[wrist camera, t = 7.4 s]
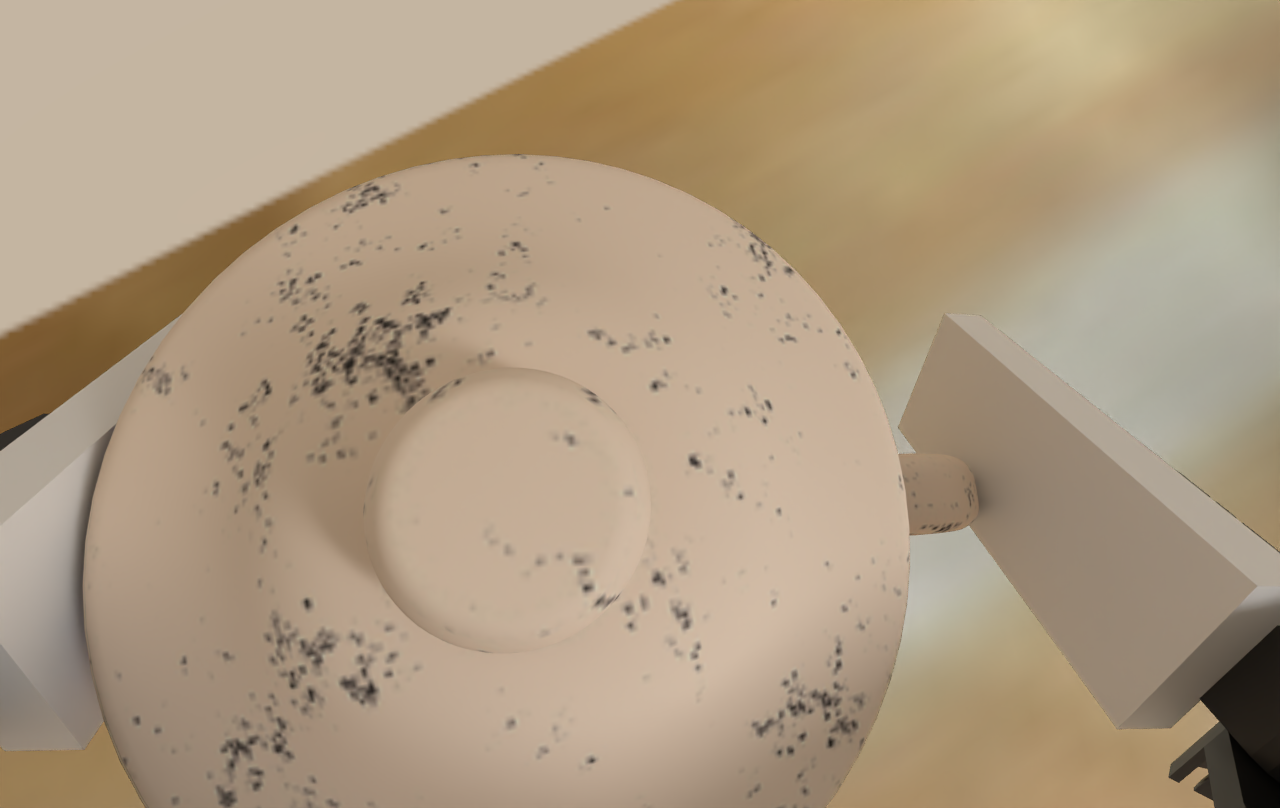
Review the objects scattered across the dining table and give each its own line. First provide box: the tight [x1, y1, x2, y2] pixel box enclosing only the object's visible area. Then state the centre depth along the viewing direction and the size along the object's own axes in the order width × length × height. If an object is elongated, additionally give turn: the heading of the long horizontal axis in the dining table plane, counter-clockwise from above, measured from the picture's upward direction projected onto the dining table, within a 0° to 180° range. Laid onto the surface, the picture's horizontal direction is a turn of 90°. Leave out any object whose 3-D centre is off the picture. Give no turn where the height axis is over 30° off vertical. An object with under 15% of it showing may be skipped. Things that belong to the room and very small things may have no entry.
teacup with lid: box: [83, 154, 979, 808], centre depth 10 cm, size 12×9×12 cm
